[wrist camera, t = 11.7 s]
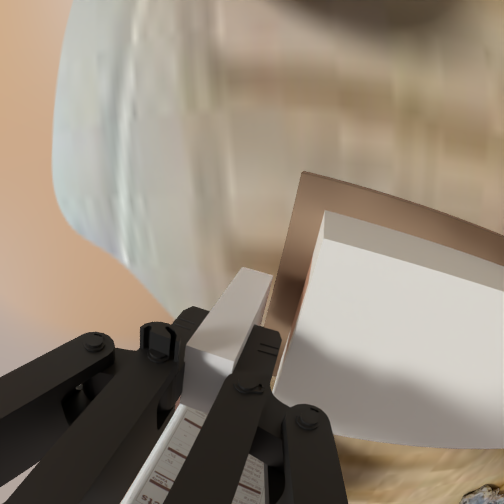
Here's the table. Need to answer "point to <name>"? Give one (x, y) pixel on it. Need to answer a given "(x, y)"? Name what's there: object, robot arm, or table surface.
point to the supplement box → (173, 456)
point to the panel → (398, 339)
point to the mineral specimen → (483, 496)
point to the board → (366, 209)
